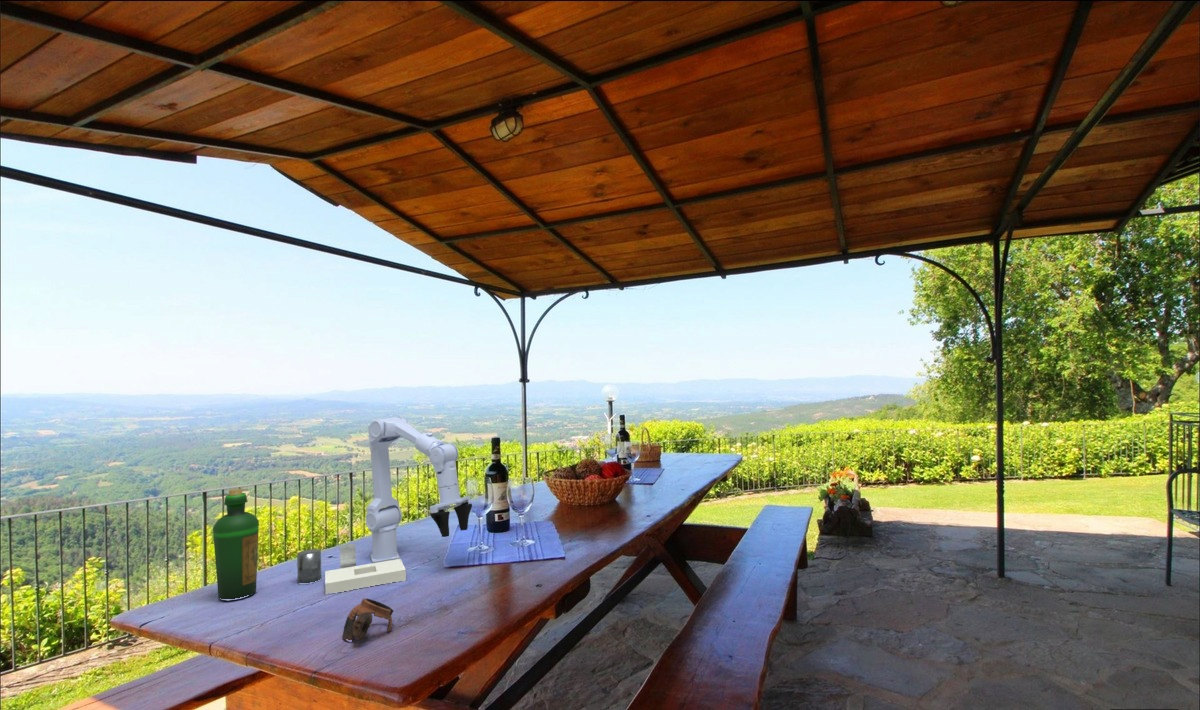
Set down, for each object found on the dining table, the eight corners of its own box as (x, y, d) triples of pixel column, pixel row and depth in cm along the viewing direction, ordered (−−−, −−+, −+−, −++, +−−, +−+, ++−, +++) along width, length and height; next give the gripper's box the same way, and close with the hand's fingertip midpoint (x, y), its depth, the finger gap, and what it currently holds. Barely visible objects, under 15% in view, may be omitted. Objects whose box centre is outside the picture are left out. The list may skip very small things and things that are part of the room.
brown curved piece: (343, 632, 128) (362, 594, 131) (383, 647, 129) (401, 610, 132) (330, 639, 117) (351, 598, 120) (374, 657, 118) (394, 615, 121)
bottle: (266, 594, 154) (264, 488, 155) (219, 607, 146) (218, 494, 147) (253, 586, 161) (251, 484, 162) (208, 598, 153) (206, 491, 154)
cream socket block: (325, 582, 162) (325, 571, 162) (400, 569, 170) (400, 558, 170) (325, 595, 151) (325, 583, 151) (406, 580, 159) (405, 569, 160)
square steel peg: (340, 573, 169) (339, 545, 169) (355, 571, 170) (354, 543, 171) (341, 577, 165) (340, 549, 165) (356, 574, 167) (355, 546, 167)
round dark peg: (298, 579, 165) (297, 551, 165) (321, 575, 167) (320, 547, 168) (297, 586, 159) (296, 556, 160) (321, 581, 162) (320, 552, 162)
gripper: (440, 488, 161) (447, 538, 159) (475, 480, 174) (482, 526, 172) (422, 491, 164) (428, 540, 162) (457, 482, 177) (464, 528, 175)
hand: (455, 533), depth 167 cm, fingers open, 7 cm apart
